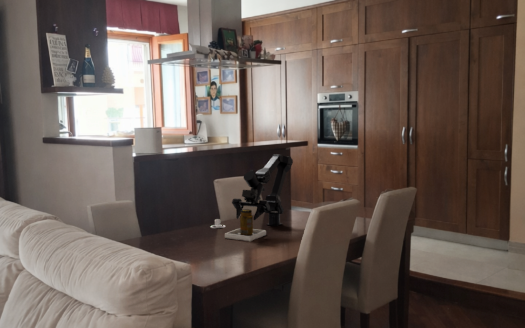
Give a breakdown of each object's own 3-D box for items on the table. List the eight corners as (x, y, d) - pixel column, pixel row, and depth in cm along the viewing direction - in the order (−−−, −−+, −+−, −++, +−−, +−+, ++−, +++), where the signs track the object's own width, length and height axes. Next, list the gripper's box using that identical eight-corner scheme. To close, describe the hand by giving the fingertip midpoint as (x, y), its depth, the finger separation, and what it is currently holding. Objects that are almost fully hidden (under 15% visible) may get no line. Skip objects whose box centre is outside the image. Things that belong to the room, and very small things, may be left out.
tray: (241, 231, 256) (241, 227, 256) (266, 234, 249) (266, 230, 249) (224, 238, 244) (224, 233, 244) (250, 241, 236) (250, 236, 236)
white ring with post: (222, 229, 265) (222, 221, 264) (207, 229, 266) (207, 221, 266) (227, 225, 273) (227, 218, 273) (212, 225, 275) (212, 218, 274)
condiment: (252, 232, 251) (252, 208, 250) (255, 236, 243) (255, 211, 242) (237, 233, 250) (237, 209, 249) (240, 237, 241) (239, 212, 240)
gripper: (232, 182, 253) (222, 208, 244) (267, 183, 245) (257, 210, 236) (240, 195, 261) (230, 221, 252) (274, 197, 252) (265, 224, 244)
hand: (245, 219), depth 246 cm, fingers open, 9 cm apart
